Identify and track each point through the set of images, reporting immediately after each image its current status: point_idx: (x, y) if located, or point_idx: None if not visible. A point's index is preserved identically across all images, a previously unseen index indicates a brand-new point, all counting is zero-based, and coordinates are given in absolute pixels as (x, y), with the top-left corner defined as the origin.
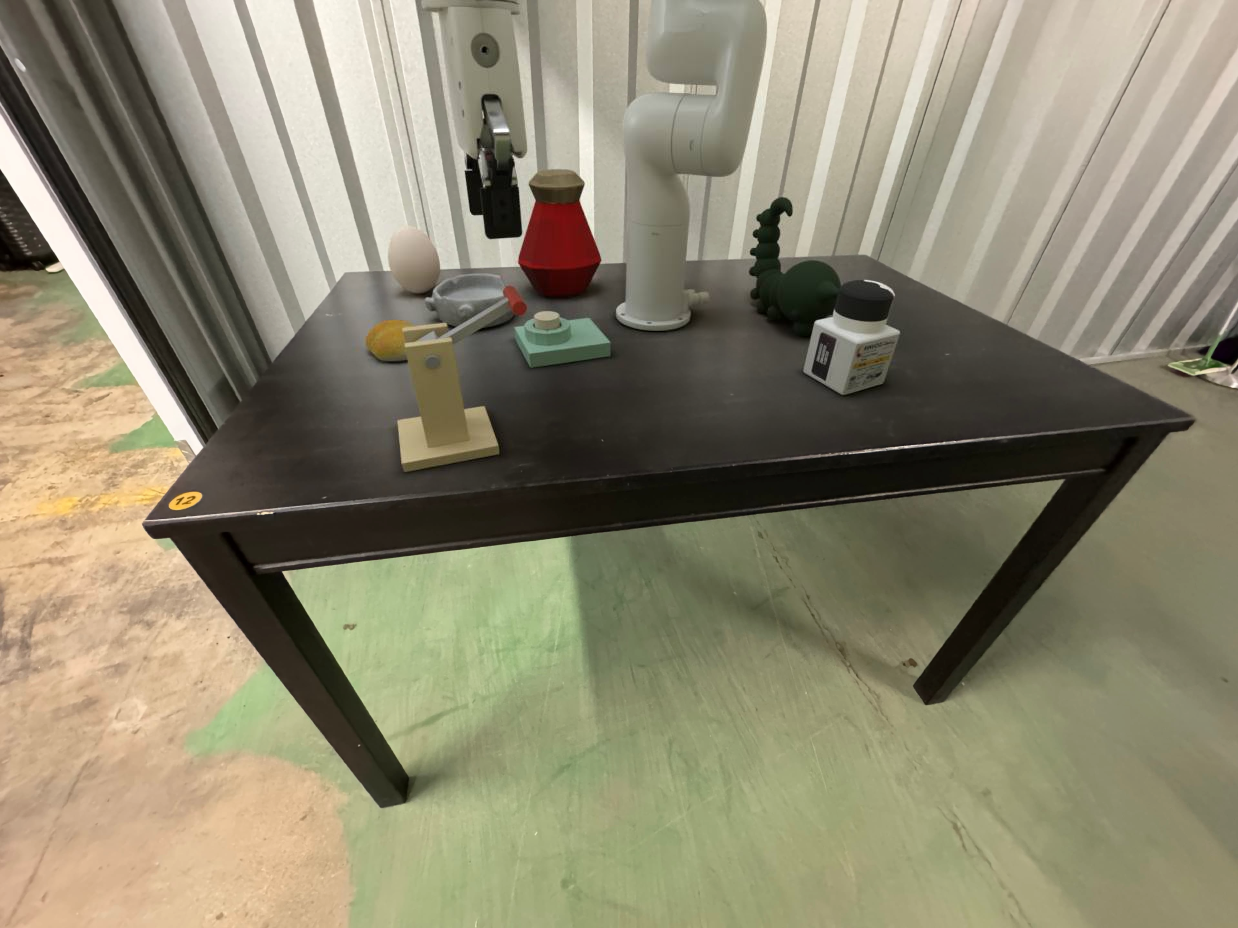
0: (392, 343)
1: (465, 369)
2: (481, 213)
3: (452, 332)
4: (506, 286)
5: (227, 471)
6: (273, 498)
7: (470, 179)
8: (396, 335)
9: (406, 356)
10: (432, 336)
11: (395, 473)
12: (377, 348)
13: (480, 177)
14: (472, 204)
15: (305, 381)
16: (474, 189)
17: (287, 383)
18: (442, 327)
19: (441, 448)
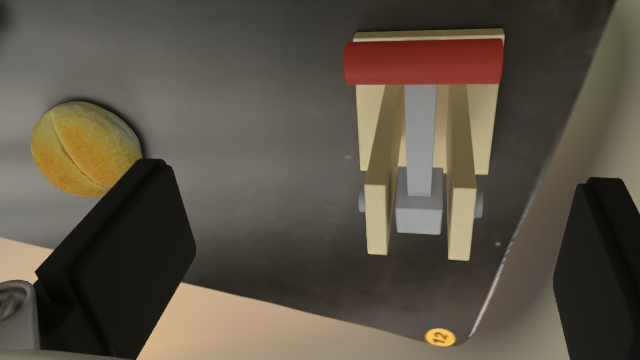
0: (123, 168)
1: (172, 45)
2: (187, 227)
3: (423, 180)
4: (347, 79)
5: (398, 314)
6: (473, 282)
7: (134, 344)
8: (104, 165)
9: (136, 140)
10: (422, 212)
11: (482, 174)
12: None
13: (116, 319)
14: (182, 274)
15: (197, 253)
16: (150, 303)
17: (201, 270)
18: (384, 192)
19: (472, 122)
